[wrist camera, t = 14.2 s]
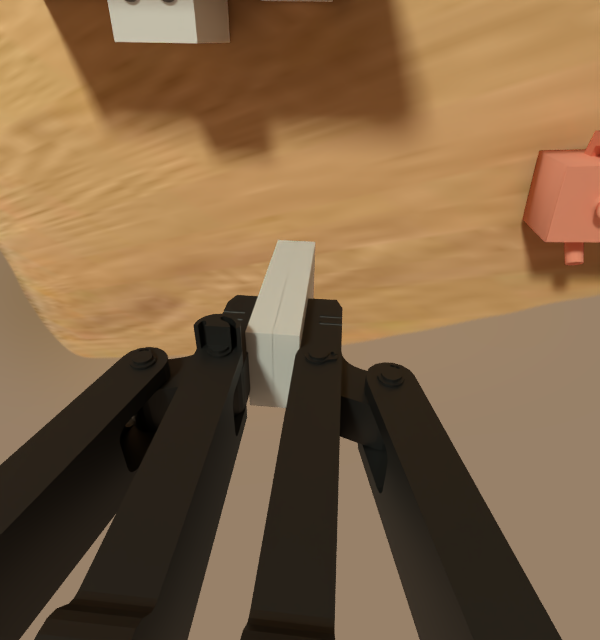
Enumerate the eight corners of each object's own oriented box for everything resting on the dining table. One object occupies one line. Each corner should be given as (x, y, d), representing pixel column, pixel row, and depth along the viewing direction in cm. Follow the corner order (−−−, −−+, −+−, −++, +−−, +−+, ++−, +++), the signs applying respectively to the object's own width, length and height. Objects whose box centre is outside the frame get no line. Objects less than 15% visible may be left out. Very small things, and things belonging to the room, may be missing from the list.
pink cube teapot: (512, 245, 47) (540, 280, 40) (541, 124, 40) (580, 141, 33) (589, 245, 46) (631, 281, 39) (631, 121, 39) (691, 139, 32)
